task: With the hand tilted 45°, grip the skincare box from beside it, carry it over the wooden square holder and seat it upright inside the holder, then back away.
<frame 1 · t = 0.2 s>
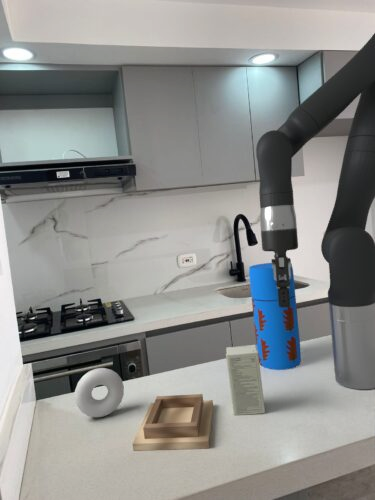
hand: (283, 303, 77), 18 cm above the counter, tool pointing down, fingers open, 8 cm apart
skincare box: (248, 410, 71), on the counter
wooden square holder: (176, 426, 67), on the counter
thermos: (279, 362, 92), on the counter
donut: (102, 416, 75), on the counter
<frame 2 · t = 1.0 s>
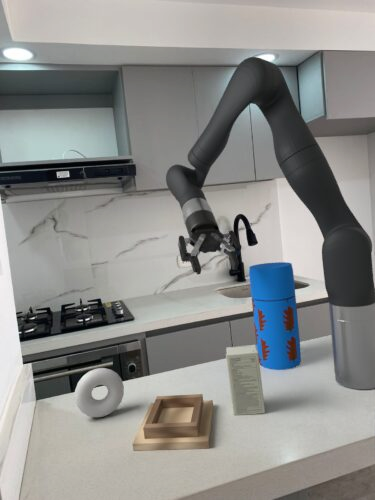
hand: (217, 269, 80), 27 cm above the counter, tool tilted 45°, fingers open, 8 cm apart
nothing on the counter moved.
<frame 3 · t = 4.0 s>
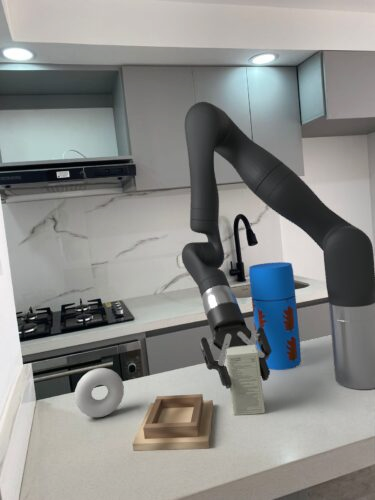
hand: (248, 382, 69), 6 cm above the counter, tool tilted 45°, fingers closed on skincare box, 7 cm apart
skincare box: (248, 410, 71), on the counter, touching gripper
everything else where it was.
when the fingers open (8 cm above the counter, at t = 9.1 s): skincare box stays where it is, resting on wooden square holder.
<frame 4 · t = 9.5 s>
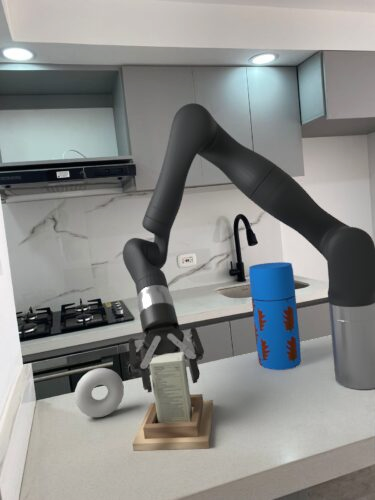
hand: (173, 386, 66), 8 cm above the counter, tool tilted 45°, fingers open, 8 cm apart
skincare box: (175, 420, 67), point 1 cm above the counter, touching wooden square holder
everything else where it was.
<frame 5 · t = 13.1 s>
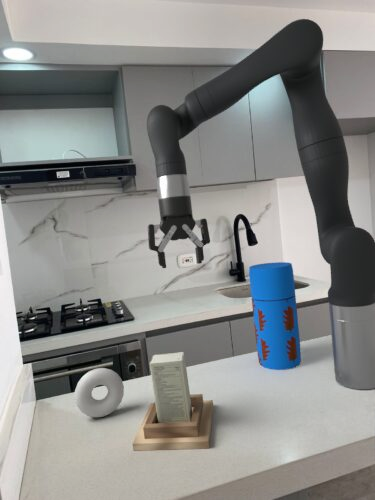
hand: (182, 265, 84), 28 cm above the counter, tool pointing down, fingers open, 8 cm apart
nothing on the counter moved.
at the end: skincare box inside the target area on the wooden square holder (0.2 cm from its centre), point 1.0 cm above the wooden square holder's base; skincare box tilted 0°; the gripper is holding nothing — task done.
